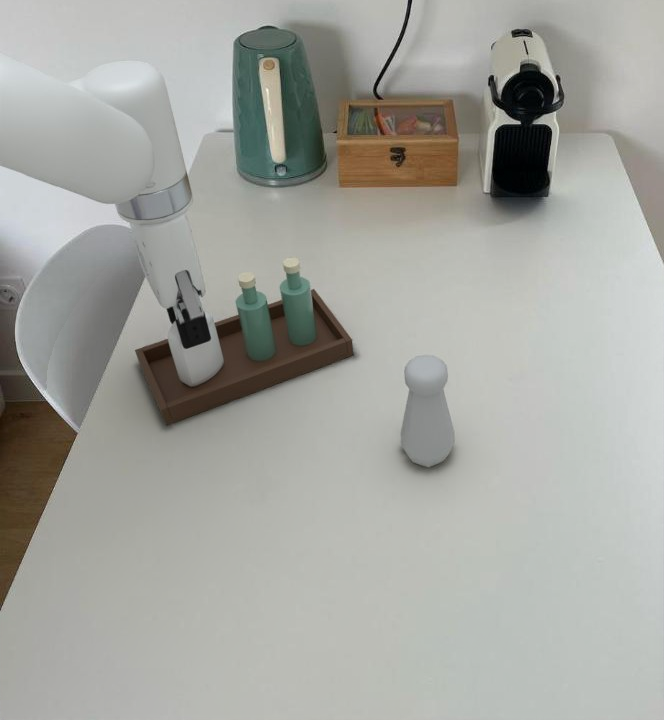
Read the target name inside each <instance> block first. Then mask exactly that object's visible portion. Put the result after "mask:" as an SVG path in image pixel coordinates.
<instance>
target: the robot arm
mask: <svg viewBox="0 0 664 720" xmlns="http://www.w3.org/2000/svg"><path fill="white" fill-rule="evenodd" d="M183 154H184V153H183V150H182V145H181V142H180V137H179V134H178V129H177V125H176V121H175V117H174V112H173V109H172V104H171V100H170V97H169V93H168V88H167V85H166V81H165V78H164V76H163V75H162V73H161V72H160V70H159V69H158V68H156V66H154V65H153V64H150V63H148V62H146V61H142V60H135V59H127V60H126V59H124V60H115V61H111V62H107V63H103V64H101V65H98V66H96V67H94V68H92V69H91V70H89V71H88V72H87V73H86V74H85V75H83V76H82V77H80V78H77V79H73V80H69V81H67V82H64V81H63V80H61V79H58V78H56V77H54V76H51V75H50V74H48V73H45V72H44V71H41V70H39V69H37V68H34V67H32V66H30V65H29V64H26V63H23V62H21V61H19V60H17V59H15V58H13V57H10V56H9V55H7V54H4V53H2V52H1V51H0V167H2V168H6V169H9V170H12V171H14V172H17V173H20V174H22V175H24V176H26V177H28V178H31V179H34V180H37V181H39V182H43V183H46V184H49V185H51V186H53V187H57V188H60V189H63V190H66V191H69V192H71V193H74V194H77V195H78V196H81V197H84V198H87V199H89V200H91V201H94V202H98V203H99V204H105V205H114V206H115V209H116V211H117V215H118V217H119V218H120V219H122V220H123V221H125V222H126V223H129V227H130V230H131V234H132V238H133V240H134V244H135V249H136V252H137V256H138V260H139V264H140V267H141V269H142V272H143V274H144V276H145V278H146V281H147V283H148V285H149V286H150V289H151V291H152V292H153V294H154V296H155V298H156V300H157V302H158V304H159V305H160V307H162V308H164V309H166V312H167V316H168V318H169V321H170V323H171V325H172V324H173V323H174V321H175V322H176V325H177V328H178V332H179V335H180V339H181V342H182V345H183V347H184V348H185V349H188V348H191V347H194V346H197V345H200V344H203V343H206V342H208V341H210V340H211V336H210V332H209V328H208V324H207V320H206V316H205V313H204V311H205V310H204V308H203V305H202V302H201V298H203V297H204V296H205V294H206V291H207V290H206V285H205V284H206V283H205V280H204V274H203V270H202V265H201V263H200V259H199V254H198V251H197V247H196V244H195V240H194V237H193V233H192V232H193V231H192V228H191V225H190V223H189V222H190V221H189V219H188V215H187V211H189V209H190V208H191V207H192V206H193V203H194V195H193V192H192V188H191V184H190V180H189V175H188V171H187V166H186V163H185V158H184V155H183ZM179 292H180V294H178V293H179ZM200 297H201V298H200ZM182 302H184V304H185V309H182V311H181V308H180V305H179V303H182ZM173 306H174V309H175V312H176V316H177V319H176V316H175V312H174V309H173Z"/></svg>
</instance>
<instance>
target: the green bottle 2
mask: <svg viewBox="0 0 664 720" xmlns="http://www.w3.org/2000/svg"><path fill="white" fill-rule="evenodd" d="M282 266H283V267H282V268H283V271H284V272H285V276H286V279H284V280H282V281H281V283H280V284H279V293H280V298H281V299H280V300H282V304H283V310H284V316H285V322H286V327H287V333H288V339H289V341H290V342H291V343H292V344H294V345H298V346H304V345H308V344H310V343H312V342H314V341H315V339H316V338H317V330H316V323H315V316H314V309H313V302H312V295H311V290H312V289H311V282H310V281H309V280H308V279H307V278H306V277H303V276H301V273H300V271H301V263H300V260H299V259H298V258H297V257H288V258H286V259H284V260H283V261H282Z"/></svg>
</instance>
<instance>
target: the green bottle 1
mask: <svg viewBox="0 0 664 720" xmlns="http://www.w3.org/2000/svg"><path fill="white" fill-rule="evenodd" d="M237 281H238V286H239V287H240V289H241V294H240V295H239V296H237V298H236V300H235V307H236V311H237V315H238V316H239V320H240V325H241V329H242V334H243V338H244V343H245V347H246V352H247V355H248V357H249V358H250V359H252V360H255V361H263V360H267V359H269V358H271V357H272V356H273V355H274V354H275V352H276V345H275V340H274V335H273V329H272V324H271V319H270V314H269V308H268V304H269V303H268V298H267V296H266V294H264V293H263V292H261V291H258V290H257V287H256V284H257V281H256V275H255V274H254V272H252V271H244V272H241V273H240V274H239V275H238V276H237Z"/></svg>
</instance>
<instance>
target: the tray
mask: <svg viewBox="0 0 664 720" xmlns="http://www.w3.org/2000/svg"><path fill="white" fill-rule="evenodd" d="M311 295H312V302H313V309H314V316H315V323H316V330H317V338H316V339H315V341H314V342H312V343H310V344H308V345H304V346H298V345H294V344H292V343H291V342H290V341H289V339H288V333H287V327H286V322H285V316H284V310H283V304H282V299H279V300H276V301H274V302H271V303H268V308H269V314H270V319H271V324H272V329H273V335H274V340H275V345H276V352H275V354H274V355H273V356H272V357H271V358H269V359H267V360H263V361H255V360H252V359H250V358H249V357H248V355H247V352H246V347H245V343H244V338H243V334H242V329H241V325H240V320H239V316H238V314H236V315H233V316H230V317H228V318H224V319H222V320H218V321H214V323H215V327H216V331H217V335H218V339H219V343H220V347H221V351H222V355H223V359H224V363H223V366H222V367H221V369H220V370H219V371H218V372H217V373H216V374H215V375H214V376H213V377H212V378H211V379H209V380H207V381H206V382H204V383H202V384H200V385H197V386H194V387H191V386H188V385H187V384H185V383H183V382H182V381H181V380H180V379H179V376H178V372H177V369H176V366H175V362H174V359H173V356H172V352H171V349H170V346H169V342H168V338H166V339H162V340H160V341H156V342H154V343H151V344H147V345H145V346H142V347H139V348H136V349H135V350H134V352H135V355H136V358H137V360H138V361H137V362H138V363H139V366H140V368H141V371H142V373H143V376H144V378H145V380H146V382H147V384H148V387H149V389H150V391H151V394H152V396H153V398H154V400H155V403H156V406H157V407H158V410H159V411H160V414H161V417H162V420H163V422H164V424H165V426H169V425H171V424H175V423H177V422H180V421H182V420H186V419H187V418H190V417H193V416H196V415H198V414H201V413H203V412H206V411H209V410H212V409H215V408H217V407H220V406H222V405H225V404H227V403H229V402H234V401H236V400H238V399H241V398H244V397H247V396H248V395H251V394H254V393H257V392H260V391H262V390H264V389H267V388H270V387H272V386H275V385H278V384H281V383H283V382H286V381H289V380H291V379H294V378H296V377H299V376H303V375H305V374H307V373H310V372H314V371H315V370H319V369H321V368H323V367H326V366H328V365H331V364H334V363H336V362H339V361H342V360H345V359H348V358H350V357H352V356H354V355H355V354H354V344H353V338H352V337H351V336H350V335H349V333H348V332H347V330H346V329H345V328H344V327H343V325H342V324H341V322H339V320H338V319H337V318H336V316H335V314H333V312H332V311H331V309H330V308H329V307H328V306H327V304H326V303H325V301H324V300H323V298H321V296H320V295H319V293H318V292H317V290H315V288H313V289H311Z"/></svg>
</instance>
